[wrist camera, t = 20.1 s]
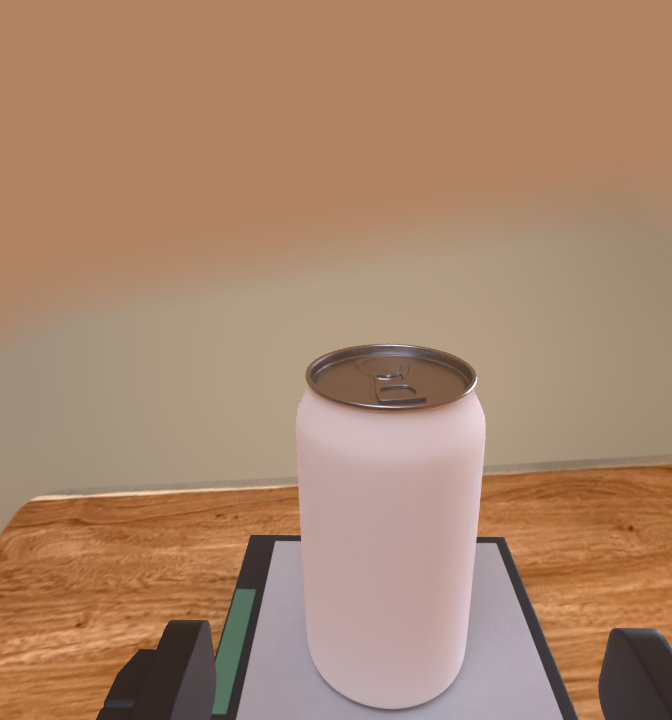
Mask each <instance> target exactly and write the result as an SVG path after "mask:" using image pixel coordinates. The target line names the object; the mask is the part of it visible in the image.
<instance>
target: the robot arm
mask: <svg viewBox="0 0 672 720" xmlns="http://www.w3.org/2000/svg"><path fill="white" fill-rule="evenodd" d="M216 683H217V675H216V666H215V659H214V651H213V644H212V637H211V630H210V624H209V622H208V621H207V620H171V621H169V623H168V624H167V626H166V628H165V630H164V632H163V635H162V637H161V640H160V642H159V644H158V647H157V649H156V650H149V649H140V650H139V651H138V652H137V653H136V654H135V655H134V656H133V657H132V658H131V660H130V661H129V662H128V663H127V664H126V665H125V666H124V667H123V668H122V670H121V671H120V672H119V673H118V674H117V676H116V679H115V681H114V683H113V685H112V687H111V689H110V691H109V693H108V695H107V698H106V700H105V702H104V707H103V708H101V710H100V712H99V715H98V717H97V719H96V720H210V718H211V714H212V710H213V706H214V701H215V694H216ZM598 689H599V699H600V704H601V708H602V711H603V714H604V717H605V720H672V648H671V647H670V645H669V644H668V643H667V641H666V640H665V638H664V637H663V635H662V634H661V633H660V632H658V631H657V630H655V629H635V628H614V629H612V630H611V632H610V635H609V639H608V643H607V648H606V652H605V656H604V661H603V665H602V669H601V674H600V678H599V685H598Z"/></svg>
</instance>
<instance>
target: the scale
mask: <svg viewBox="0 0 672 720" xmlns="http://www.w3.org/2000/svg"><path fill="white" fill-rule="evenodd" d="M215 666H216V675H217V683H216V694H215V701H214V706H213V710H212V714H211V718H210V720H579V719H578V717H577V714H576V712H575V709H574V707H573V705H572V702H571V700H570V697H569V695H568V692H567V690H566V687H565V685H564V683H563V680H562V678H561V675H560V673H559V670H558V668H557V665H556V663H555V660H554V658H553V656H552V653H551V651H550V648H549V646H548V643H547V641H546V638H545V636H544V634H543V631H542V629H541V626H540V624H539V621H538V619H537V616H536V614H535V611H534V609H533V607H532V604H531V602H530V599H529V597H528V594H527V592H526V589H525V587H524V585H523V582H522V580H521V577H520V575H519V572H518V570H517V567H516V565H515V562H514V560H513V558H512V555H511V553H510V550H509V548H508V545H507V543H506V540H505V538H504V537H477V538H476V549H475V559H474V570H473V580H472V591H471V601H470V611H469V621H468V631H467V640H466V648H465V655H464V659H463V663H462V666H461V669H460V671H459V673H458V675H457V676H456V678H455V679H454V681H453V682H452V683H451V685H450V686H449V687H448V688H447V689H446V690H445V691H443V692H442V693H441V694H440V695H438V696H437V697H435V698H433V699H432V700H430V701H427V702H425V703H423V704H420V705H417V706H413V707H409V708H402V709H382V708H375V707H371V706H367V705H363V704H361V703H358V702H355V701H353V700H351V699H349V698H347V697H346V696H344V695H342V694H341V693H339V692H338V691H337V690H335V689H334V688H333V687H332V686H331V685H329V684H328V683H327V681H326V680H325V679H324V678H323V677H322V676H321V674H320V673H319V671H318V670H317V668H316V666H315V665H314V662H313V660H312V658H311V655H310V651H309V647H308V641H307V630H306V615H305V598H304V581H303V563H302V545H301V535H251V536H250V539H249V543H248V546H247V550H246V553H245V556H244V560H243V563H242V567H241V570H240V574H239V577H238V580H237V584H236V587H235V591H234V594H233V598H232V601H231V604H230V608H229V611H228V615H227V618H226V622H225V625H224V629H223V632H222V635H221V639H220V642H219V646H218V649H217V653H216V656H215Z"/></svg>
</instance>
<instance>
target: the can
mask: <svg viewBox="0 0 672 720" xmlns="http://www.w3.org/2000/svg"><path fill="white" fill-rule="evenodd" d="M306 381H307V383H308V387H307V389H306V391H305V393H304V396H303V398H302V400H301V402H300V405H299V407H298V410H297V415H296V445H297V468H298V488H299V508H300V526H301V545H302V563H303V581H304V598H305V615H306V630H307V641H308V647H309V651H310V655H311V658H312V660H313V662H314V665H315V666H316V668H317V670H318V671H319V673H320V674H321V676H322V677H323V678H324V679H325V680H326V681H327V683H328V684H329V685H331V686H332V687H333V688H334V689H335V690H337V691H338V692H339V693H341V694H342V695H344V696H346V697H347V698H349V699H351V700H353V701H355V702H358V703H361V704H363V705H367V706H371V707H375V708H382V709H402V708H409V707H413V706H417V705H420V704H423V703H425V702H427V701H430V700H432V699H433V698H435V697H437V696H438V695H440V694H441V693H442V692H443V691H445V690H446V689H447V688H448V687H449V686H450V685H451V683H452V682H453V681H454V679H455V678H456V676H457V675H458V673H459V671H460V669H461V666H462V663H463V659H464V655H465V648H466V640H467V631H468V621H469V611H470V601H471V591H472V580H473V570H474V559H475V549H476V538H477V527H478V516H479V505H480V494H481V483H482V472H483V459H484V447H485V430H486V429H485V416H484V413H483V410H482V407H481V405H480V402H479V400H478V398H477V396H476V393H475V391H474V387H475V385H476V382H477V376H476V372H475V371H474V369H473V368H472V367H471V366H470V365H469V364H468V363H467V362H465V361H463V360H462V359H460V358H458V357H456V356H454V355H451V354H449V353H446V352H442V351H439V350H435V349H431V348H426V347H420V346H412V345H400V344H374V345H363V346H355V347H349V348H344V349H340V350H337V351H333V352H331V353H328V354H325V355H323V356H321V357H319V358H318V359H316V360H315V361H313V362H312V363H311V364H310V365H309V367H308V368H307V371H306Z"/></svg>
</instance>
